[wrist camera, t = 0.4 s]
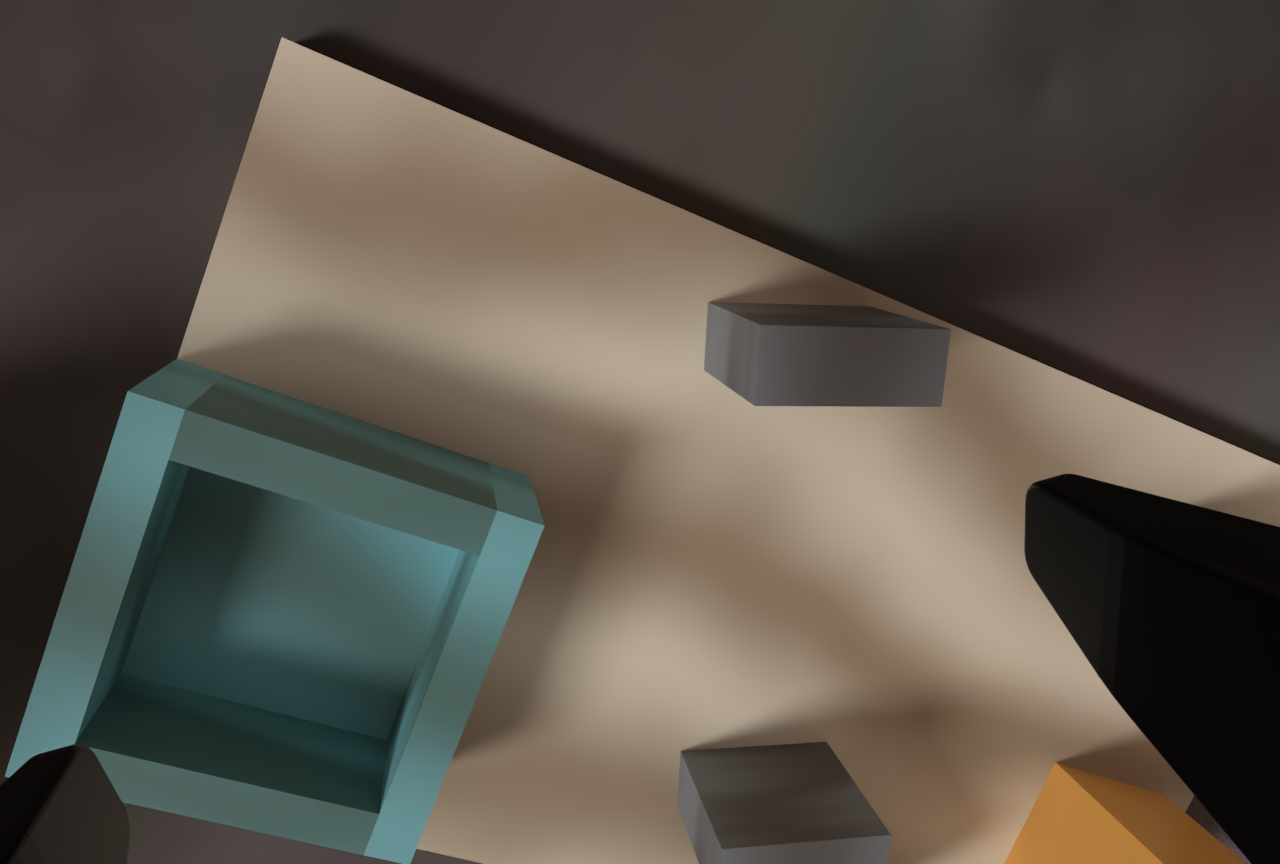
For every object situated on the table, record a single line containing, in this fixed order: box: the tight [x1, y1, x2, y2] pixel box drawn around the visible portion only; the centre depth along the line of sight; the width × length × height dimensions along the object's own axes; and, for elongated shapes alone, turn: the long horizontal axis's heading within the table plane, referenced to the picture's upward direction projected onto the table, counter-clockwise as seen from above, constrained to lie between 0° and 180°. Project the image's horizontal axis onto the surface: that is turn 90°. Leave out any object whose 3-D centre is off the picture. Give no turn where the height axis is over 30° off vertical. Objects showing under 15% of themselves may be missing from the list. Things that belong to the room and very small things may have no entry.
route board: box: [5, 38, 1280, 864], centre depth 24 cm, size 17×30×5 cm, turn 68°
